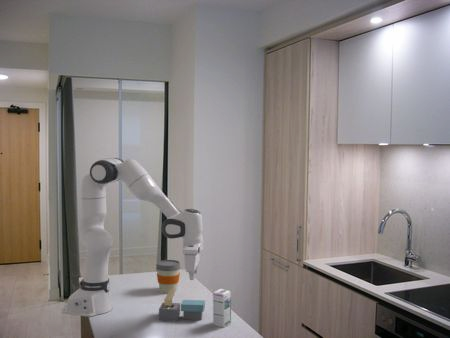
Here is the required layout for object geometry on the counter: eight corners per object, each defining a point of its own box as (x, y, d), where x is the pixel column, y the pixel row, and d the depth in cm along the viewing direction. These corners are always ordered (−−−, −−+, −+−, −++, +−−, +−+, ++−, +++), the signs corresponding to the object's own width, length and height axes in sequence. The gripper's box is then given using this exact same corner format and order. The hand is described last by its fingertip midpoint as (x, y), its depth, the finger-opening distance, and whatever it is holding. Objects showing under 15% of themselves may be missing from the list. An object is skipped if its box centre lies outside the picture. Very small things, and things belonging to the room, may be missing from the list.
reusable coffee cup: (162, 296, 232) (162, 267, 231) (152, 289, 243) (152, 261, 242) (184, 291, 239) (184, 263, 238) (173, 285, 249) (173, 258, 249)
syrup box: (224, 327, 193) (224, 294, 192) (212, 324, 196) (212, 291, 195) (231, 323, 197) (231, 290, 197) (219, 320, 200) (219, 288, 200)
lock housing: (159, 320, 201) (159, 308, 200) (162, 313, 209) (162, 302, 208) (200, 321, 199) (200, 310, 199) (202, 314, 207) (203, 303, 207)
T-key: (170, 311, 211) (170, 289, 211) (174, 311, 211) (174, 289, 211) (164, 323, 197) (164, 299, 197) (168, 323, 197) (168, 299, 197)
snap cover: (180, 311, 201) (180, 304, 201) (183, 306, 207) (183, 299, 207) (203, 311, 200) (203, 305, 200) (204, 306, 206) (204, 300, 206)
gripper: (189, 240, 212) (189, 269, 213) (182, 251, 192) (182, 283, 193) (203, 240, 212) (203, 269, 213) (197, 251, 191) (197, 283, 192)
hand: (193, 276), depth 203 cm, fingers open, 8 cm apart
